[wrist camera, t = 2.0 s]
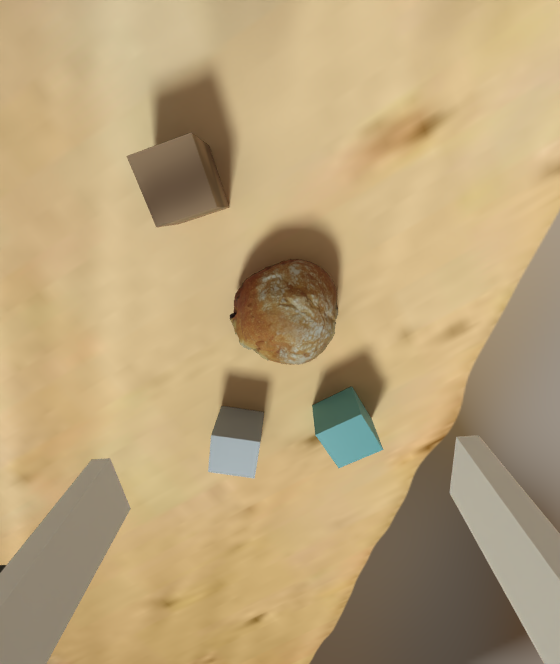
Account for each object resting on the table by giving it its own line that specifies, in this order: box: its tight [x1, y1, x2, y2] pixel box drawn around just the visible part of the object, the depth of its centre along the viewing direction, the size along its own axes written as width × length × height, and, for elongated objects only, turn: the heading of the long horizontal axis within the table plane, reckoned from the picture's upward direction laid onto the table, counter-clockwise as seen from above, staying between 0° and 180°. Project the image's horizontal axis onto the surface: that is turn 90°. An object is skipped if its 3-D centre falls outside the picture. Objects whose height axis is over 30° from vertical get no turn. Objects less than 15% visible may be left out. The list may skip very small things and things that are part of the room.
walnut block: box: [127, 133, 229, 227], centre depth 25 cm, size 5×5×5 cm
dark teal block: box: [312, 387, 383, 468], centre depth 33 cm, size 5×5×5 cm
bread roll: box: [230, 259, 338, 365], centre depth 29 cm, size 10×10×8 cm
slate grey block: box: [208, 406, 264, 478], centre depth 34 cm, size 5×5×5 cm
